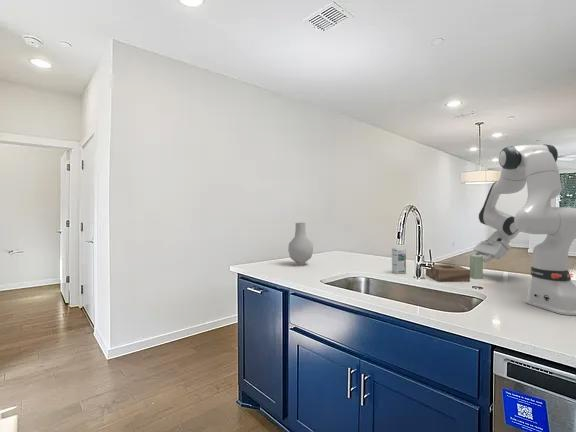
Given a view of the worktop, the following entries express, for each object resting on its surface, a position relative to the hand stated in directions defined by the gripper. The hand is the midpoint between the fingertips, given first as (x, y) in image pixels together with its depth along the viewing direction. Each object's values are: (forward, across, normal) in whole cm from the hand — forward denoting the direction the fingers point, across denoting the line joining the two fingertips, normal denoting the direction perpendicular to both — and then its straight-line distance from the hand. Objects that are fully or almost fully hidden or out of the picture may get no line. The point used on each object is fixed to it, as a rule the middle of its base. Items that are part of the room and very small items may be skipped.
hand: (478, 260), depth 179 cm
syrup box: (+34, -15, -20) cm, 42 cm away
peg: (+8, 0, +6) cm, 10 cm away
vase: (+74, -44, -60) cm, 105 cm away
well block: (+19, 0, -6) cm, 20 cm away
